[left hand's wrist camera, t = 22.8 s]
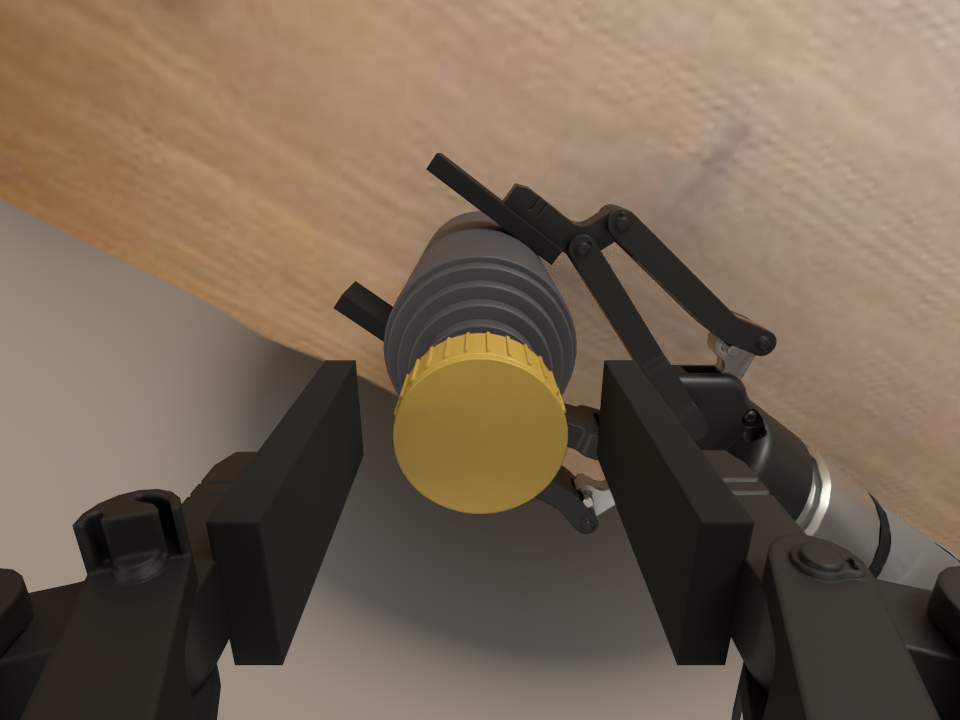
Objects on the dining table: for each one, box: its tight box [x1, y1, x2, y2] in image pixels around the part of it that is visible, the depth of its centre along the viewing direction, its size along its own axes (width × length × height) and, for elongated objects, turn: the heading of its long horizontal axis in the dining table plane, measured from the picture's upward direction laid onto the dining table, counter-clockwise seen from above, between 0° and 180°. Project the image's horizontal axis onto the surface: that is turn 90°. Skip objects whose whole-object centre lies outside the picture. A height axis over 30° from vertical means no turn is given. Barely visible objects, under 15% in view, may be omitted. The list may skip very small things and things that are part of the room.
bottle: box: [384, 211, 576, 396], centre depth 23 cm, size 6×6×19 cm
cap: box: [393, 332, 568, 514], centre depth 14 cm, size 4×4×2 cm
